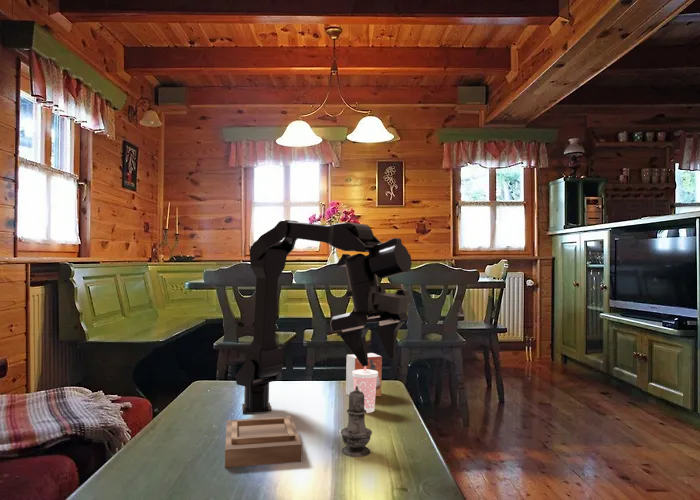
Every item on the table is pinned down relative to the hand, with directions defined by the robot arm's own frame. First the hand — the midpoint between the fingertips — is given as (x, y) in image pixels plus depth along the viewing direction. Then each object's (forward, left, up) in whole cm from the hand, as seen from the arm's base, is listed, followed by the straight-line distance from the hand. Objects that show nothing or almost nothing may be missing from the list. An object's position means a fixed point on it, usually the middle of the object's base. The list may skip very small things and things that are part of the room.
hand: (379, 362), depth 98 cm
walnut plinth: (-1, -22, -15) cm, 27 cm away
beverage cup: (-21, +3, -16) cm, 27 cm away
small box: (-34, +6, -16) cm, 38 cm away
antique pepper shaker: (+4, -5, -16) cm, 17 cm away
